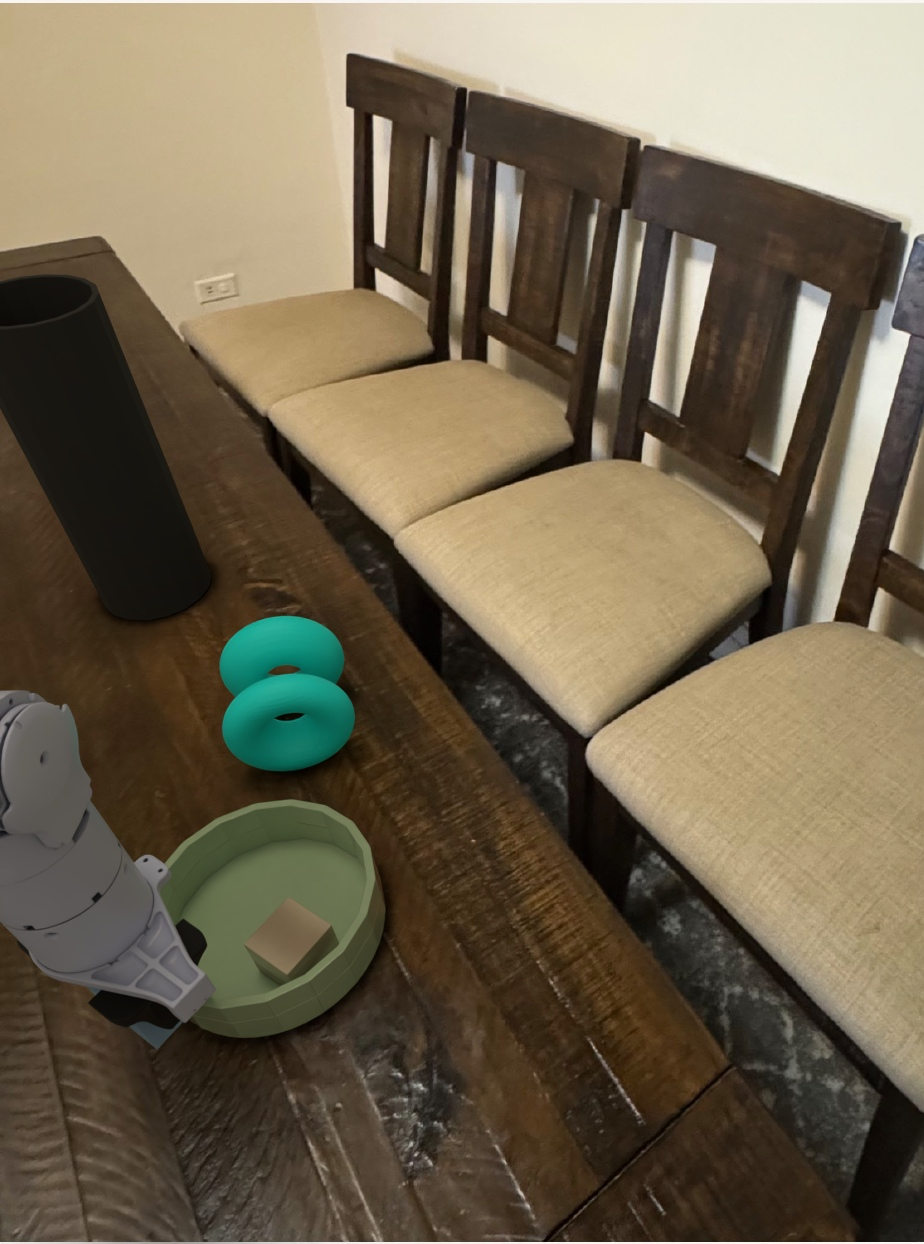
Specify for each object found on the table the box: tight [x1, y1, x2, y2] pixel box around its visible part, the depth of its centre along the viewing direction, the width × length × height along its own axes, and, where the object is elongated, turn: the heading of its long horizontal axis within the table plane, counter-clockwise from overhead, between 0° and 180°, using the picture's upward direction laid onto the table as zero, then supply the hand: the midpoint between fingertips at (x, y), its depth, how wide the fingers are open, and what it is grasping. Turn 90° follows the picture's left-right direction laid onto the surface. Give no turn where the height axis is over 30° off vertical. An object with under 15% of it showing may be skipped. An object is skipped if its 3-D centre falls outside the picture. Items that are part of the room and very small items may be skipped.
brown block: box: [244, 897, 339, 986], centre depth 58 cm, size 4×4×4 cm
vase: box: [0, 273, 213, 621], centre depth 77 cm, size 10×10×30 cm
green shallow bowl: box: [160, 798, 387, 1039], centre depth 60 cm, size 15×15×5 cm
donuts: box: [219, 615, 356, 772], centre depth 71 cm, size 10×10×10 cm
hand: (155, 992), depth 51 cm, fingers closed on blue block, 4 cm apart
